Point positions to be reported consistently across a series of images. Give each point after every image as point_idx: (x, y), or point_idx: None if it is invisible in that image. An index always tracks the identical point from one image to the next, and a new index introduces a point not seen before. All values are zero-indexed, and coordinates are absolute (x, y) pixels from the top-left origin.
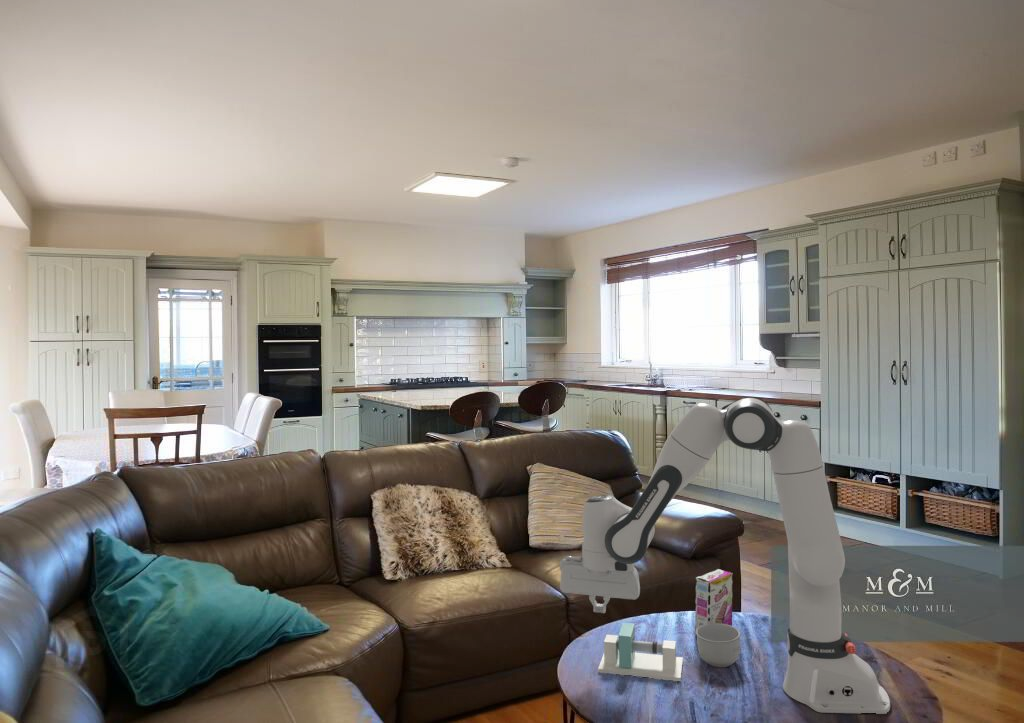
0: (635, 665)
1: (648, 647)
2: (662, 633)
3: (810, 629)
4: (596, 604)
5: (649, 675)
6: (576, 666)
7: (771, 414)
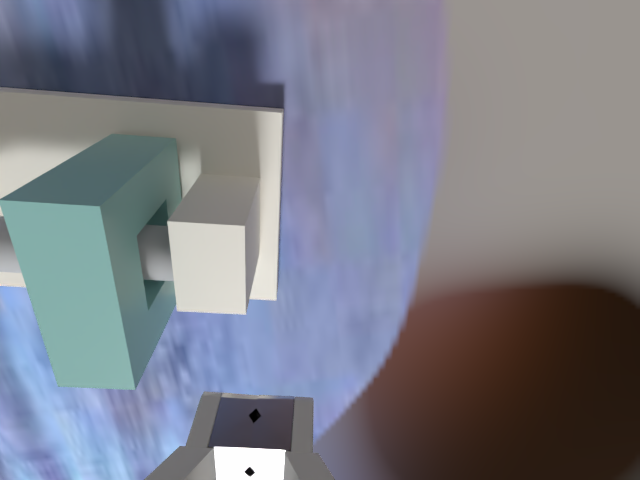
0: None
1: None
2: (99, 443)
3: None
4: (283, 475)
5: (10, 90)
6: (395, 155)
7: None
